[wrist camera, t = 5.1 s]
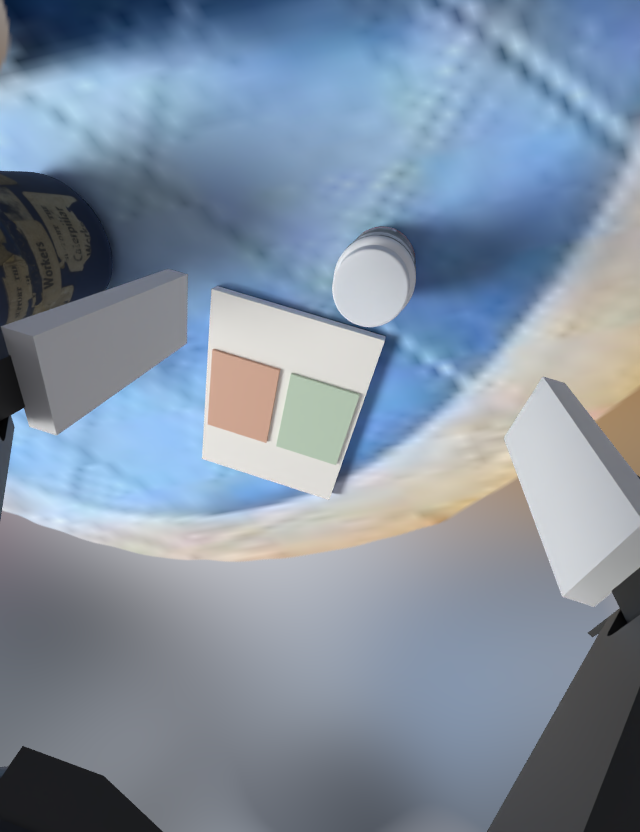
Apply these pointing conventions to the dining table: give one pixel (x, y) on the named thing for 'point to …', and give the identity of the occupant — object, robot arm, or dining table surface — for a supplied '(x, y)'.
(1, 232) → the canister
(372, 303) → the pill bottle
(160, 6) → the dining table surface
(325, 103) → the dining table surface
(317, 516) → the dining table surface
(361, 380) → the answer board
